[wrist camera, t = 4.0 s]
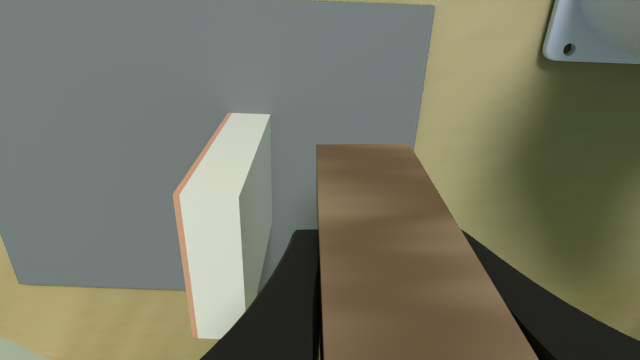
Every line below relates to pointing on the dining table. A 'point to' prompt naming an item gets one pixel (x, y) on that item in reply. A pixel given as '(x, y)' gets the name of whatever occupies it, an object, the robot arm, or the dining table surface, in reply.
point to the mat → (181, 118)
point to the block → (400, 266)
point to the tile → (225, 222)
